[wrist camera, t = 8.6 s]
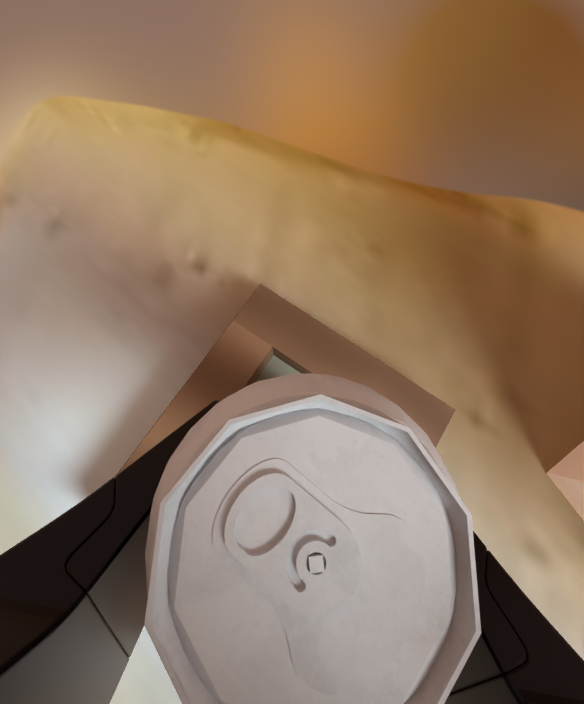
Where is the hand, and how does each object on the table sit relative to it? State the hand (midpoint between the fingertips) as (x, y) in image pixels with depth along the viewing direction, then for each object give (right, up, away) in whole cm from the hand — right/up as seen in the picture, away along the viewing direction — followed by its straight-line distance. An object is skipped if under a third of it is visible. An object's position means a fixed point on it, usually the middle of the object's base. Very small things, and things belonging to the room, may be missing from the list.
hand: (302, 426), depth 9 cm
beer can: (-1, -3, +6) cm, 7 cm away
